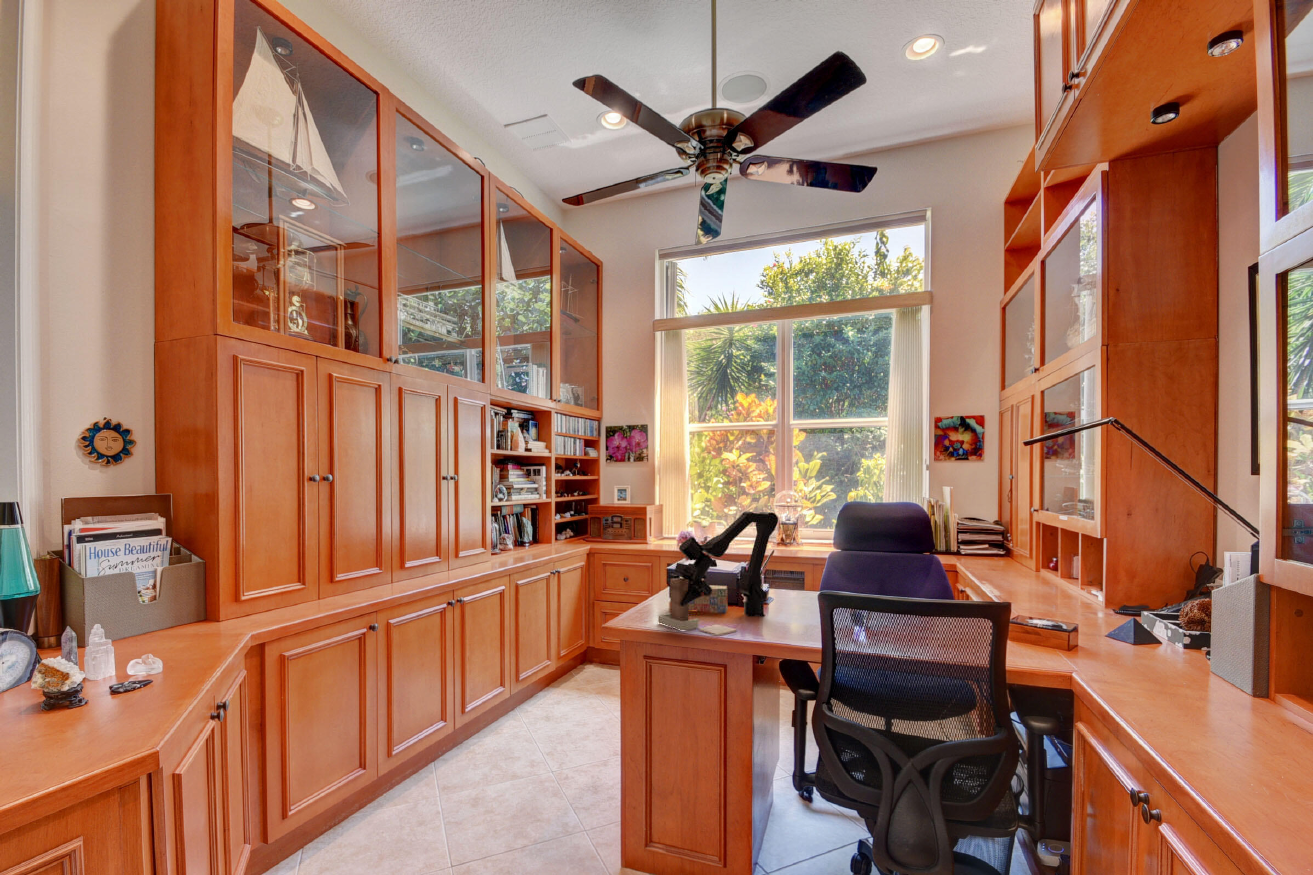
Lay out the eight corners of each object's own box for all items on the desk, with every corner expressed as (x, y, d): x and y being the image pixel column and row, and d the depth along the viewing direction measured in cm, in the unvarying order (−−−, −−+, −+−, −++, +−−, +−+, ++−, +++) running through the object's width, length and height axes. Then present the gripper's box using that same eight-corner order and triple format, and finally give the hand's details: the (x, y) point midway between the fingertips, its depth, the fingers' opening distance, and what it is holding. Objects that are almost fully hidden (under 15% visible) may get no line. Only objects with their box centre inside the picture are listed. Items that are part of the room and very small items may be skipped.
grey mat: (717, 626, 199) (717, 624, 199) (736, 631, 192) (736, 629, 192) (698, 630, 193) (698, 628, 193) (717, 636, 186) (717, 634, 186)
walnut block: (680, 623, 203) (680, 577, 204) (688, 625, 199) (688, 579, 201) (670, 625, 200) (670, 579, 201) (679, 628, 197) (678, 580, 198)
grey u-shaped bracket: (674, 620, 207) (674, 612, 207) (698, 627, 197) (698, 618, 197) (658, 624, 202) (658, 615, 202) (682, 631, 192) (682, 622, 192)
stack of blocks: (727, 609, 224) (727, 578, 225) (725, 613, 218) (725, 580, 219) (674, 607, 229) (674, 576, 230) (671, 610, 223) (671, 578, 224)
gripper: (670, 551, 211) (647, 585, 203) (705, 557, 197) (682, 593, 189) (686, 571, 216) (664, 605, 208) (722, 577, 201) (699, 614, 193)
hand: (676, 604), depth 199 cm, fingers open, 5 cm apart
